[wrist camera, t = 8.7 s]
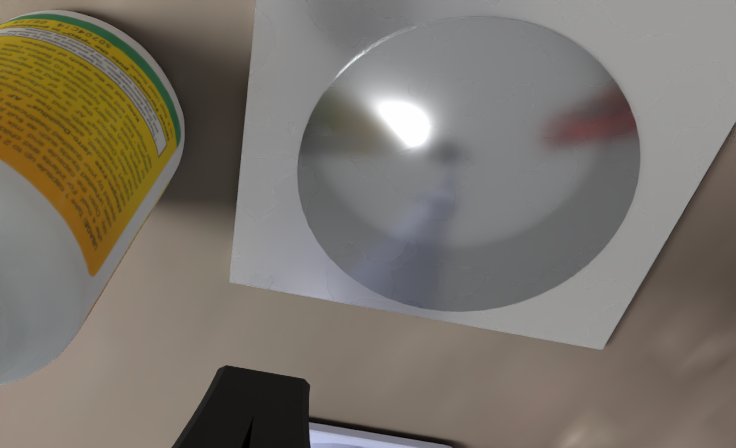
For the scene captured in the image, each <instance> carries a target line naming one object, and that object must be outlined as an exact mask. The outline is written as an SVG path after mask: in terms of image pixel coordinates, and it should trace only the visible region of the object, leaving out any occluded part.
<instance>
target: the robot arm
mask: <svg viewBox="0 0 736 448" xmlns="http://www.w3.org/2000/svg"><path fill="white" fill-rule="evenodd" d="M309 391H310V385H309V384H308V382H307V381H306V380H305V379H302V378H296V377H291V376H285V375H279V374H273V373H267V372H262V371H256V370H250V369H244V368H239V367H233V366H227V365H226V366H224V367H222V368H219V369H218V370H217V373H216V375H215V377H214V379H213V381H212V383H211V385H210V387H209V389H208V390H207V392H206V394H205V396H204V398H203V399H202V401H201V403H200V404H199V406H198V408H197V409H196V411H195V413H194V414H193V416H192V418H191V419H190V421H189V422H188V424H187V425H186V427H185V428H184V430H183V431H182V433H181V434H180V436H179V438H178V439H177V441H176V442H175V444H174V445H173V446H172V448H452V447H451V446H447V445H443V444H437V443H431V442H425V441H419V440H413V439H407V438H401V437H395V436H389V435H383V434H377V433H371V432H365V431H359V430H353V429H347V428H341V427H335V426H329V425H323V424H317V423H311V422H309Z"/></svg>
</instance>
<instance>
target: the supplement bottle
mask: <svg viewBox="0 0 736 448" xmlns="http://www.w3.org/2000/svg"><path fill="white" fill-rule="evenodd" d="M184 141H185V128H184V117H183V112H182V109H181V107H180V104H179V102H178V99H177V97H176V94H175V92H174V90H173V88H172V86H171V84H170V82H169V80H168V79H167V77H166V75H165V74H164V72H163V71H162V69H161V67H160V66H159V65H158V64H157V62H156V61H155V60H154V59H153V57H152V56H151V55H150V54H149V53H148V52H147V51H146V50H145V49H144V48H143V47H142V46H141V45H140V44H139V43H138V42H136V41H135V40H133V39H132V38H131V37H129V36H128V35H127V34H125V33H124V32H122V31H120V30H119V29H117V28H115V27H114V26H112V25H110V24H108V23H106V22H103V21H101V20H99V19H96V18H93V17H90V16H87V15H84V14H80V13H76V12H72V11H66V10H46V11H37V12H32V13H27V14H24V15H21V16H18V17H15V18H13V19H10V20H8V21H6V22H4V23H2V24H0V385H4V384H8V383H11V382H14V381H17V380H19V379H22V378H24V377H26V376H28V375H30V374H32V373H34V372H36V371H38V370H40V369H41V368H43V367H44V366H46V365H48V364H49V363H50V362H51V361H53V360H54V359H55V358H56V357H58V356H59V355H60V354H61V353H62V352H63V350H64V349H65V348H66V347H67V346H68V345H69V344H70V342H71V341H72V340H73V338H74V337H75V336H76V334H77V333H78V331H79V330H80V328H81V326H82V325H83V323H84V322H85V320H86V319H87V317H88V315H89V314H90V312H91V310H92V309H93V307H94V305H95V304H96V302H97V301H98V299H99V297H100V296H101V294H102V292H103V291H104V289H105V287H106V286H107V284H108V282H109V281H110V279H111V277H112V276H113V274H114V272H115V271H116V269H117V267H118V266H119V264H120V262H121V261H122V259H123V257H124V255H125V254H126V252H127V250H128V249H129V247H130V245H131V244H132V242H133V240H134V239H135V237H136V235H137V234H138V232H139V231H140V229H141V227H142V226H143V224H144V223H145V221H146V220H147V218H148V216H149V215H150V213H151V212H152V210H153V208H154V207H155V205H156V204H157V202H158V201H159V199H160V197H161V196H162V194H163V192H164V191H165V189H166V188H167V186H168V184H169V183H170V181H171V179H172V177H173V175H174V173H175V171H176V169H177V167H178V165H179V163H180V160H181V156H182V152H183V148H184Z"/></svg>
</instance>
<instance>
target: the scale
mask: <svg viewBox="0 0 736 448" xmlns="http://www.w3.org/2000/svg"><path fill="white" fill-rule="evenodd" d="M735 122H736V0H256V9H255V19H254V30H253V40H252V51H251V61H250V71H249V82H248V92H247V103H246V113H245V123H244V134H243V144H242V155H241V165H240V176H239V186H238V196H237V207H236V217H235V228H234V238H233V249H232V259H231V269H230V280H229V282H231V283H236V284H242V285H247V286H253V287H258V288H264V289H269V290H275V291H280V292H286V293H291V294H297V295H302V296H308V297H313V298H319V299H324V300H330V301H335V302H341V303H346V304H352V305H357V306H363V307H368V308H374V309H379V310H385V311H390V312H396V313H401V314H407V315H412V316H418V317H423V318H429V319H434V320H440V321H445V322H451V323H456V324H462V325H467V326H473V327H478V328H484V329H489V330H495V331H500V332H506V333H511V334H517V335H522V336H528V337H533V338H539V339H544V340H550V341H555V342H561V343H566V344H572V345H577V346H583V347H588V348H594V349H599V350H602V349H603V348H604V346H605V344H606V343H607V341H608V339H609V337H610V336H611V334H612V332H613V331H614V329H615V327H616V325H617V324H618V322H619V320H620V319H621V317H622V315H623V313H624V312H625V310H626V308H627V307H628V305H629V303H630V301H631V300H632V298H633V296H634V295H635V293H636V291H637V290H638V288H639V286H640V284H641V283H642V281H643V279H644V278H645V276H646V274H647V272H648V271H649V269H650V267H651V266H652V264H653V262H654V260H655V259H656V257H657V255H658V254H659V252H660V250H661V248H662V247H663V245H664V243H665V242H666V240H667V238H668V236H669V235H670V233H671V231H672V230H673V228H674V226H675V225H676V223H677V221H678V219H679V218H680V216H681V214H682V213H683V211H684V209H685V207H686V206H687V204H688V202H689V201H690V199H691V197H692V195H693V194H694V192H695V190H696V189H697V187H698V185H699V183H700V182H701V180H702V178H703V177H704V175H705V173H706V171H707V170H708V168H709V166H710V165H711V163H712V161H713V160H714V158H715V156H716V154H717V153H718V151H719V149H720V148H721V146H722V144H723V142H724V141H725V139H726V137H727V136H728V134H729V132H730V130H731V129H732V127H733V125H734V124H735Z"/></svg>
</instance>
